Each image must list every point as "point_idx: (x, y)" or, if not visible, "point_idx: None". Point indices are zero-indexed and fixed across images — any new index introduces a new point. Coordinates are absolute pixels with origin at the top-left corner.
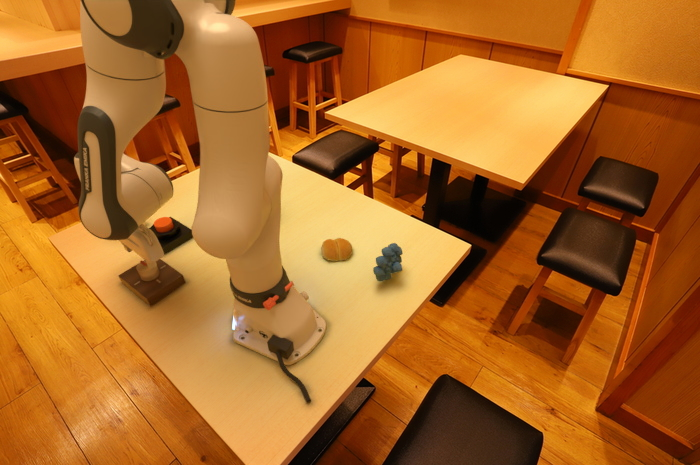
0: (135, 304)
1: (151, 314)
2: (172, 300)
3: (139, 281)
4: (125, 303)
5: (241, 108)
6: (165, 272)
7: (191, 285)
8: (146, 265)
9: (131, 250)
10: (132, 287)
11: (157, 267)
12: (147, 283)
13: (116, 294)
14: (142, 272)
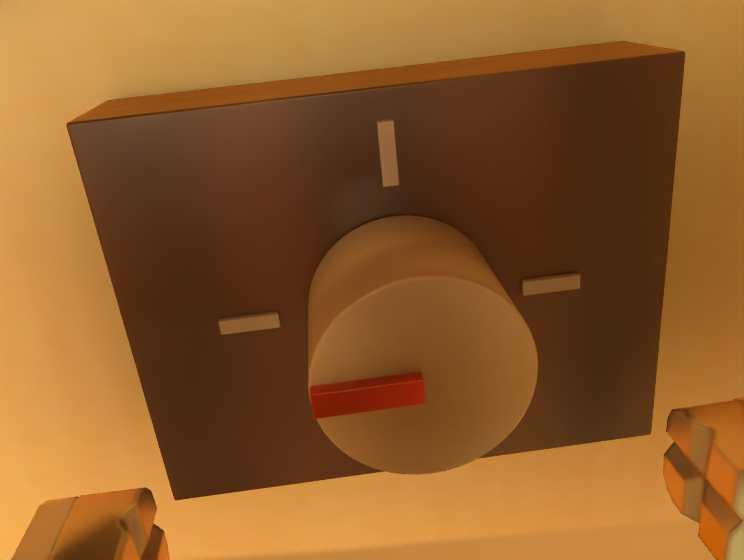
0: None
1: (671, 397)
2: (694, 235)
3: None
4: (423, 478)
5: None
6: (489, 174)
7: (698, 17)
8: (681, 505)
9: (152, 528)
10: None
11: (450, 246)
12: None
13: (284, 492)
14: (491, 441)
